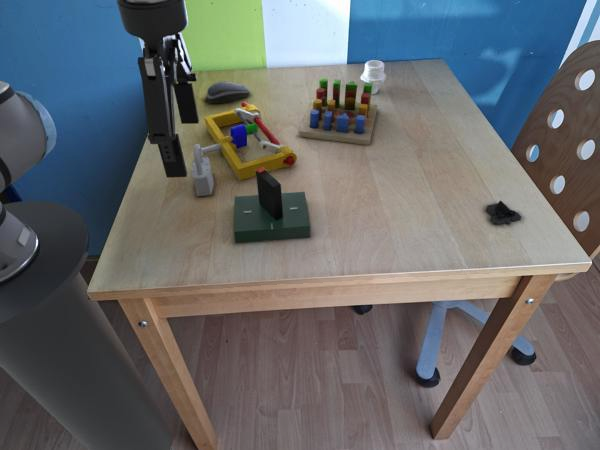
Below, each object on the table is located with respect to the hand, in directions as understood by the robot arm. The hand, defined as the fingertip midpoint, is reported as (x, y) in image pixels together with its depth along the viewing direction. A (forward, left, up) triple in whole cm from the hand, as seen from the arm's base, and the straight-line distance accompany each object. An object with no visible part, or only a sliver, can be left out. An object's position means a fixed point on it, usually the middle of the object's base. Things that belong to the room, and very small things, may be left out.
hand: (184, 147), depth 64 cm
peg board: (+31, +40, -22) cm, 55 cm away
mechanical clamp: (+5, +33, -22) cm, 40 cm away
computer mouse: (+2, +58, -22) cm, 62 cm away
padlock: (-2, +18, -22) cm, 28 cm away
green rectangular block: (+12, +5, -22) cm, 25 cm away
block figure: (+57, +2, -22) cm, 61 cm away
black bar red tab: (+12, +5, -19) cm, 23 cm away
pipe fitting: (+43, +56, -22) cm, 74 cm away
